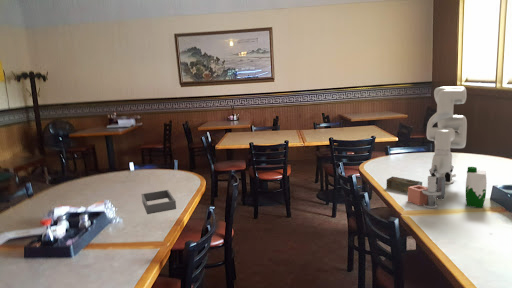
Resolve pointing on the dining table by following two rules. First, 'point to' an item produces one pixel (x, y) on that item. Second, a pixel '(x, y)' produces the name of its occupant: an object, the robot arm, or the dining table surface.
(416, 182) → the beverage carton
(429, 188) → the silver flanged rod
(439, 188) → the gray square bar
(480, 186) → the milk carton
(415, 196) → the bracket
